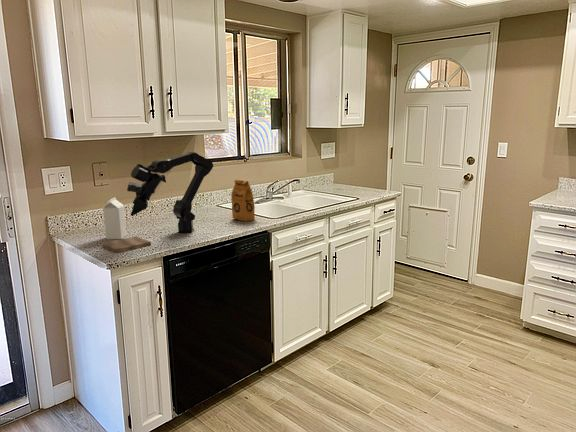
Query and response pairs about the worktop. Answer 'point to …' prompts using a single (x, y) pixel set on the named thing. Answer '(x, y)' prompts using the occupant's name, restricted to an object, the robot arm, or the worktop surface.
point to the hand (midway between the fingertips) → (132, 211)
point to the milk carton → (114, 219)
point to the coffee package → (242, 201)
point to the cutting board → (126, 244)
